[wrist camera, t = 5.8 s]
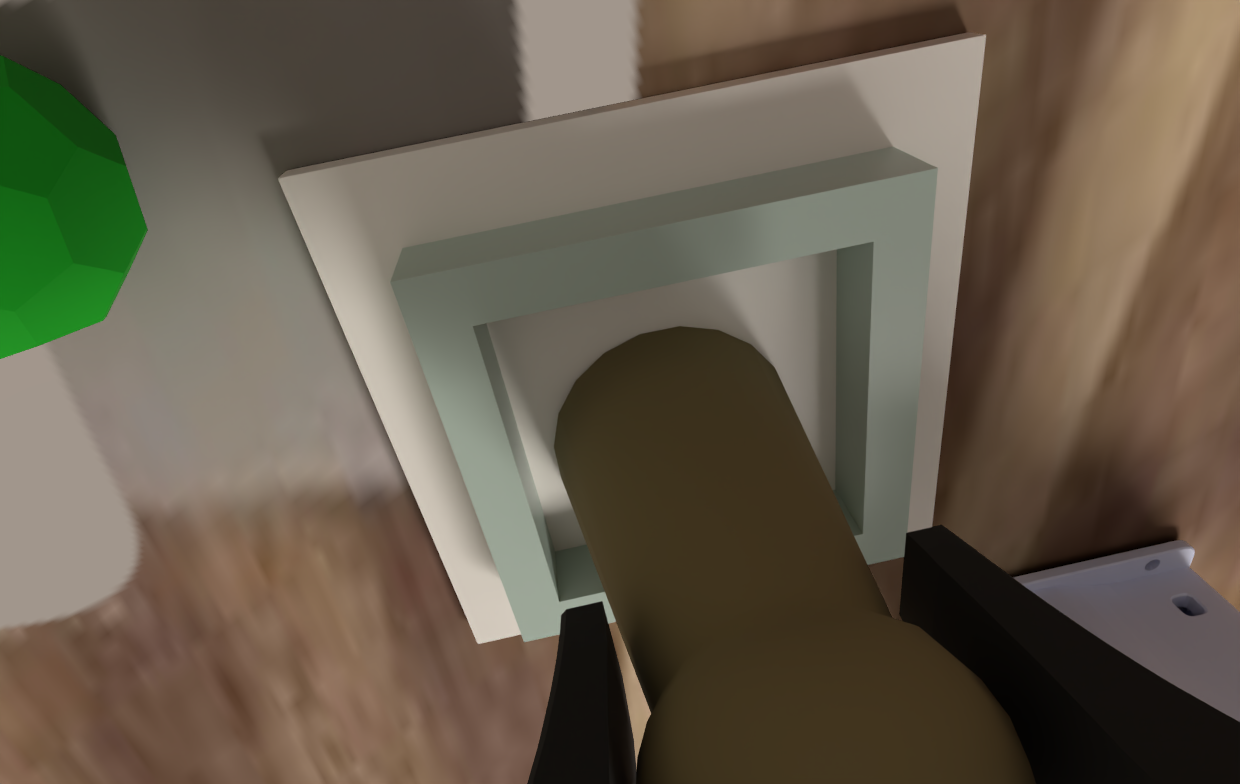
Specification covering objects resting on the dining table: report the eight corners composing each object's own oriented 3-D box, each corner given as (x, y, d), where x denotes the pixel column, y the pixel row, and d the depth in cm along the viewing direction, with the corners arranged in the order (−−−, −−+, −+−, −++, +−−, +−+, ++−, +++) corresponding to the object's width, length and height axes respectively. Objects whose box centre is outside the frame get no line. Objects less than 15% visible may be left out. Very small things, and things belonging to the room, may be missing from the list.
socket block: (969, 32, 14) (1046, 44, 12) (920, 529, 22) (962, 587, 20) (285, 170, 14) (248, 206, 12) (478, 627, 21) (475, 697, 19)
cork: (598, 561, 19) (703, 1110, 9) (516, 378, 16) (549, 914, 6) (807, 486, 19) (1125, 965, 9) (763, 289, 16) (1166, 698, 6)
